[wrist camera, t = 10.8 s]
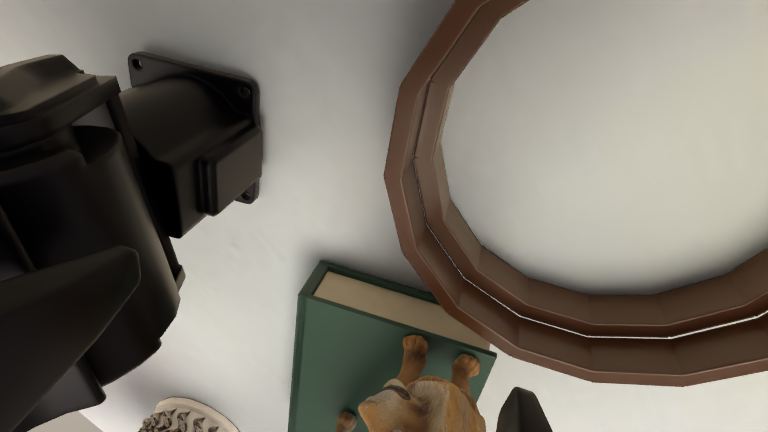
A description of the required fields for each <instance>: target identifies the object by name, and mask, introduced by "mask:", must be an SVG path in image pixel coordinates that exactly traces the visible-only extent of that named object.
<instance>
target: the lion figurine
mask: <svg viewBox="0 0 768 432" xmlns="http://www.w3.org/2000/svg"><path fill="white" fill-rule="evenodd" d="M403 346H404V357H403V364H402V368H401V371H400V373H399V375H398V376H397V378H396V379H391V380H389V381H388V382H387V383H386V384H385V385H384V387H383V389H382V390H381V392H380V393H378V394H376V395H375V396H371V397H369V398H367V399H366V400H365V401H364V402H362V403H361V404H359V407H358V410H359V413H360V415H361V417H362V418H363V420H364V422H365V423H366V425H367V427H368V429H369V432H486V426H485V420H484V418H483V417H482V416H481V415H480V413H479V411H478V409H477V405H476V402H475V399H474V398H473V397H471V396H470V391H469V384H468V380H469V378H470V377H472V376H476V375H477V374H478V373H479V370H480V364H479V361H478V360H477V359H476V357H474V356H471V355H469V354H461V355H460V356H459V357H457V359H456V360H455V362H454V363H453V364H452V373H451V379H450V381H448V380H446V379H442V378H440V377H437V376H430V375H427V376H423V377H420V374H421V372H422V370H423V368H424V366H425V364H426V360H427V357H426V352H427V349H428V344H427V341H426V340H425V339H424V338H423V337H422V336H416V335H411V336H405V337H404V338H403ZM419 377H420V378H419ZM356 423H357V419H356V417H355V416H354V415H353V414H350V413H349V412H341V413H340V414H339V416H338V420H337V425H336V430H335V432H350V431H352V430H353V429H354V428H355V426H356Z"/></svg>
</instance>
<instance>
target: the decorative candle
mask: <svg viewBox="0 0 768 432" xmlns="http://www.w3.org/2000/svg"><path fill="white" fill-rule="evenodd" d="M150 425H151V426H150ZM138 432H239V430H238V429H237V428H236V427H235V426H234V425H233V424H232V423H231V422H230V421H229V420H228V419H227V418H226V417H225V416H223V415H221V414H220V413H218V412H217V411H215V410H213V409H212V408H210V407H209V406H207V405H204V404H202V403H199V402H196V401H193V400H191V399H186V398H175V397H171V398H168V399H165V400H162V401H160V402H159V404H158V405H157V407H156V409H155V410H154V412H153V414H152V415H151V417H150V418H148V419H145V420H144V421H143V427H141V428H140V430H139V431H138Z"/></svg>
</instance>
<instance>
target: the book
mask: <svg viewBox="0 0 768 432" xmlns="http://www.w3.org/2000/svg"><path fill="white" fill-rule="evenodd" d="M411 335H416V336H422V337H423V338H424V339H425V340H426V341H427V344H428V349H427V352H426V357H427V360H426V364H425V366H424V368H423V370H422V372H421V374H420V377H423V376H427V375H430V376H437V377H440V378H442V379H446V380H448V381H450V379H451V373H452V364H453V363H454V362H455V360H456V359H457V357H459V356H460V355H461V354H469V355H471V356H474V357H476V359H477V360H478V361H479V364H480V370H479V373H478V374H477V375H476V376H472V377H470V378H469V380H468V384H469V391H470V396H471V397H473V398H474V399H475V402H476V403H477V401H478V398H479V396H480V394H481V392H482V389H483V387H484V385H485V383H486V380H487V378H488V376H489V374H490V371H491V369H492V367H493V365H494V362H495V360H496V358H497V353H495V352H492V351H489V348H490V342H488V341H487V340H485V339H484V338H482V337H481V336H479V335H478V334H476V333H475V332H473V331H472V330H471V329H469V328H468V327H466V326H465V325H463V324H462V323H460V322H459V321H457V320H456V319H454V318H453V317H451V316H450V315H448V314H447V312H445V310H444V309H443V308H442V306H441V305H440V303H439V302H438V301H437V299H436V298H435V297H434V295H433V294H430V293H426V292H423V291H420V290H416V289H413V288H410V287H406V286H403V285H400V284H397V283H393V282H390V281H387V280H383V279H380V278H377V277H374V276H370V275H367V274H364V273H360V272H357V271H354V270H350V269H347V268H344V267H341V266H337V265H334V264H331V263H327V262H324V261H320V262H319V263H318V265H317V266H316V268H315V269H314V271H313V272H312V274H311V276H310V277H309V279H308V280H307V282H306V283H305V285H304V286H303V288H302V290H301V291H300V293H299V294H298V303H297V317H296V330H295V343H294V356H293V370H292V383H291V396H290V409H289V423H288V432H335V430H336V425H337V420H338V416H339V414H340V413H341V412H349V413H350V414H353V415H354V416H355V417H356V419H357V423H356V426H355V428H354V429H353V430H352V431H350V432H369V429H368V427H367V425H366V423H365V422H364V420H363V418H362V417H361V415H360V413H359V410H358V407H359V404H361V403H362V402H364V401H365V400H366V399H367V398H369V397H371V396H375V395H376V394H378V393H380V392H381V390H382V389H383V387H384V385H385V384H386V383H387V382H388V381H389V380H391V379H396V378H397V376H398V375H399V373H400V371H401V368H402V364H403V357H404V346H403V338H404V337H405V336H411ZM420 377H419V378H420Z"/></svg>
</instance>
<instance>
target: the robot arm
mask: <svg viewBox="0 0 768 432" xmlns="http://www.w3.org/2000/svg"><path fill="white" fill-rule="evenodd" d="M139 61H140V62H141V64H142V67H141V66H140V64H139ZM128 66H129V73H130V79H131V86H132V88H130V89H128V90H125V91H122V92H121V90H120V87H119V84H118V81H117V78H116V76H96V75H90V74H85V73H84V70H80V69H79V68H77V67H76V66H75V65H74V64H73V63H72V62H70V61H69V60H68V59H67V58H66V57H65V56H63V55H45V56H41V57H37V58H33V59H29V60H24V61H20V62H16V63H13V64H9V65H6V66H2V67H0V432H27V431H29V430H31V429H32V428H34V427H36V426H39V425H41V424H43V423H45V422H48V421H50V420H52V419H55V418H57V417H59V416H62V415H64V414H66V413H70V412H73V411H78V410H81V409H85V408H89V407H93V406H96V405H99V404H101V403H102V402H103V401H104V400H105V399H106V394H105V392H104V391H103V389H102V387H103V386H105V385H107V384H109V383H112V382H114V381H115V380H117V379H119V378H120V377H122V376H123V375H125V374H127V373H128V372H130V371H132V370H133V369H135V368H136V367H138V366H140V365H141V364H142V363H144V362H145V361H146V360H147V359H148V358H149V357H151V356H152V355H153V354H154V353H155V352H156V351H157V350H158V349H159V348H160V346H161V340H160V337H161V336H162V335H163V334H164V332H165V331H166V329H167V328H168V327H169V325H170V324H171V322H172V321H173V320H174V318H175V317H176V314H177V310H178V307H179V303H180V296H179V293H178V292H179V290H180V288H181V286H182V284H183V281H184V279H185V273H184V270H183V267H182V265H179V263H178V261H177V258H176V255H175V252H174V249H173V246H172V244H171V241H170V238H169V236H170V237H174V238H181V237H182V236H183V235H185V234H186V233H187V232H188V231H189V230H190V229H192V228H193V227H194V226H195V225H196V224H197V223H199V222H200V221H201V220H202V219H203V218H204V217H206V216H207V215H210V216H213V217H214V216H216V215H217V214H219V213H220V212H221V211H222V210H224V209H225V208H226V207H227V206H228V205H229V204H230V203H231V202H233V201H234V200H235V201H239V202H242V203H246V204H250V203H253V202H254V201H255V200H256V199H257V198H258V178H260V177H261V171H262V131H261V129H260V127H259V88H258V86H257V84H256V83H255V82H254V81H253V80H250V79H248V78H244V77H240V76H236V75H232V74H228V73H224V72H220V71H216V70H212V69H208V68H204V67H200V66H196V65H192V64H188V63H184V62H180V61H176V60H172V59H168V58H164V57H160V56H156V55H152V54H148V53H144V52H136V53H132V54H131V55H129V57H128ZM244 87H247V88H248V89H249V91H250V95H248V94H246V92H245V90H244ZM245 191H246V192H248V193H249V194H250V196H248V195H247V194H246V192H245ZM496 432H553V431H552V429H551V427H550V425H549V423H548V421H547V418H546V416H545V414H544V412H543V410H542V408H541V406H540V403H539V401H538V399H537V397H536V395H535V394H534V393H533V392H531V391H528V390H525V389H523V388H520V387H515V388H514V389H513V390H512V391H511V393H510V395H509V396H508V398H507V400H506V401H505V403H504V405H503V406H502V408H501V411H500V413H499V417H498V423H497V429H496Z"/></svg>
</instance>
